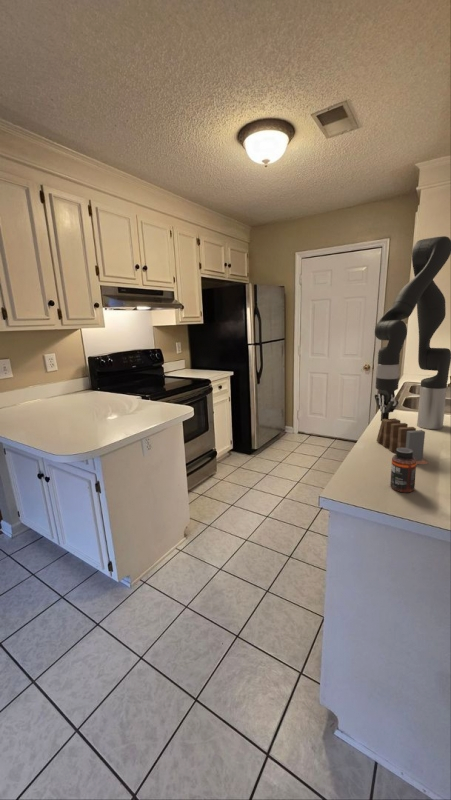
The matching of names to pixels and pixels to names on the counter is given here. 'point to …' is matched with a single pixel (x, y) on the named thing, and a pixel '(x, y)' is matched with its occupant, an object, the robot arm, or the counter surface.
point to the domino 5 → (416, 443)
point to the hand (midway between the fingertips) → (384, 421)
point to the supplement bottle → (403, 470)
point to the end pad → (421, 462)
